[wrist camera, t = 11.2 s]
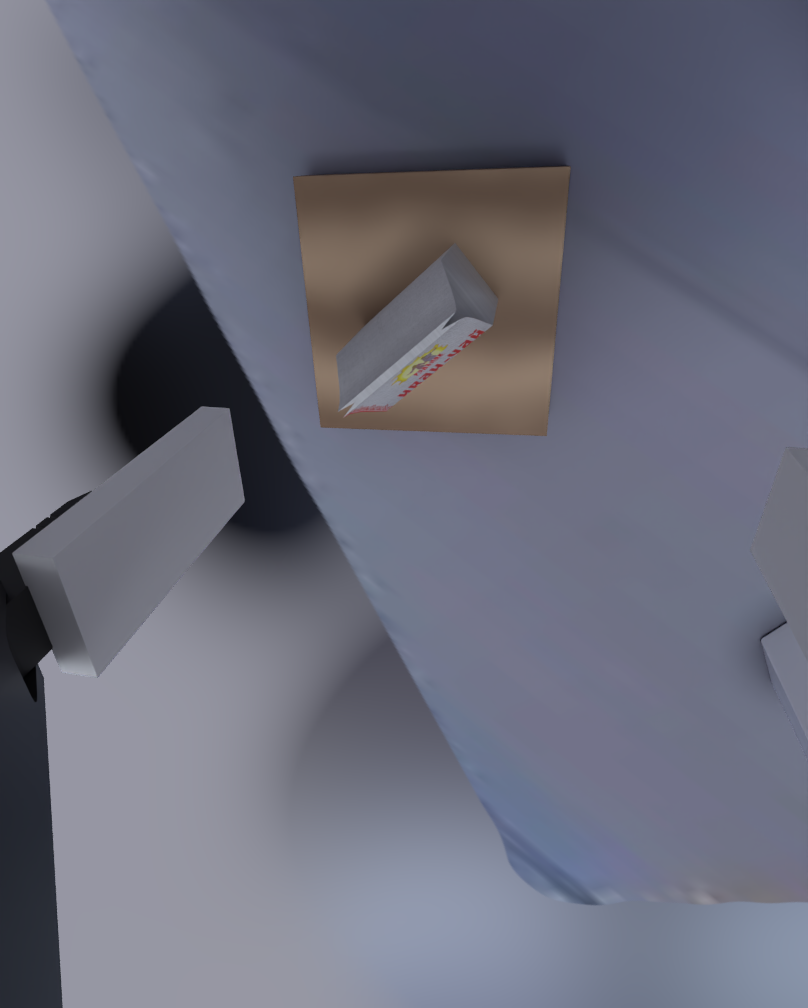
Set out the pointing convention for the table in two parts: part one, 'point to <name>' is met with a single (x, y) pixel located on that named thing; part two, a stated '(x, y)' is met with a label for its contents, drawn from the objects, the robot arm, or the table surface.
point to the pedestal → (408, 253)
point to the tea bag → (415, 334)
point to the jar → (789, 678)
